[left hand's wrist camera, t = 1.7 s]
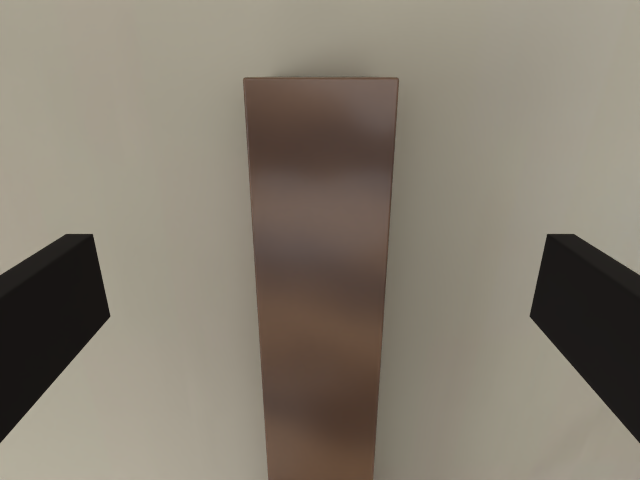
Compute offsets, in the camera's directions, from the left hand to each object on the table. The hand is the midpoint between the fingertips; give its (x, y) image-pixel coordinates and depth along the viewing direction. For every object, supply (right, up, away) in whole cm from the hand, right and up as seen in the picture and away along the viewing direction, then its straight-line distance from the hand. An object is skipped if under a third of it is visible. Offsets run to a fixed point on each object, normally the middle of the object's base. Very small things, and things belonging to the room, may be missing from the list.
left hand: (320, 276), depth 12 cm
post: (0, -15, +20) cm, 25 cm away
